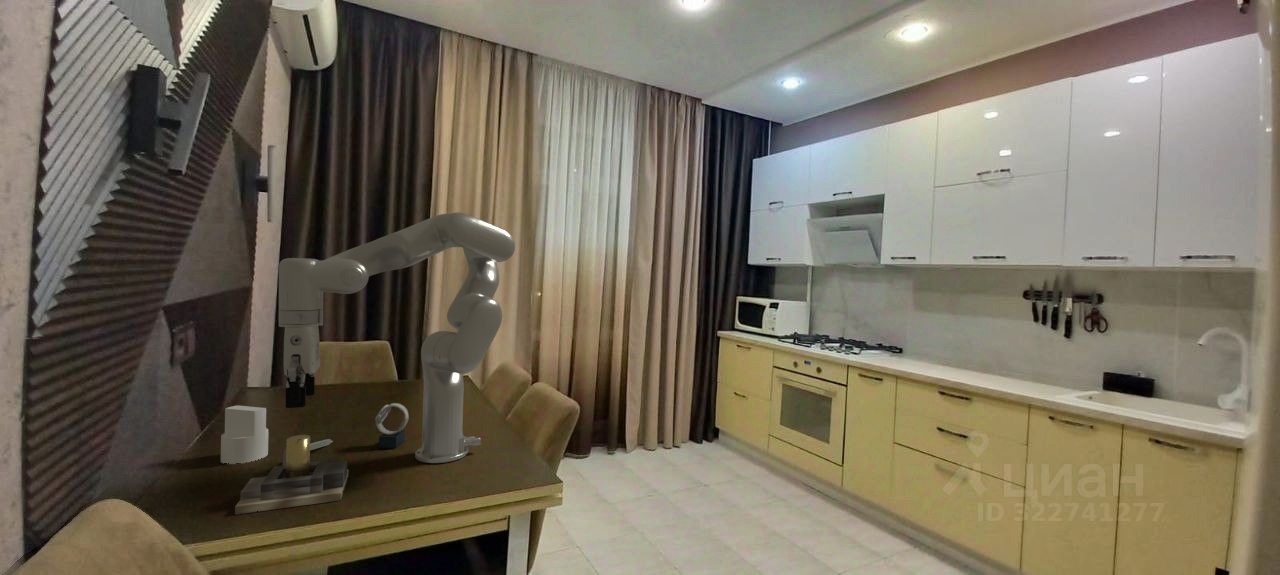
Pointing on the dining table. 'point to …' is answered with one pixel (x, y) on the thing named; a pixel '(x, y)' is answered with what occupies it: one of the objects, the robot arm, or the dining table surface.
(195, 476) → the dining table surface
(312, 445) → the caliper
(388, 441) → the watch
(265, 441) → the cylinder with rectangular tab
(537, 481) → the dining table surface
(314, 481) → the gray stepped fixture base
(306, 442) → the brass pin
